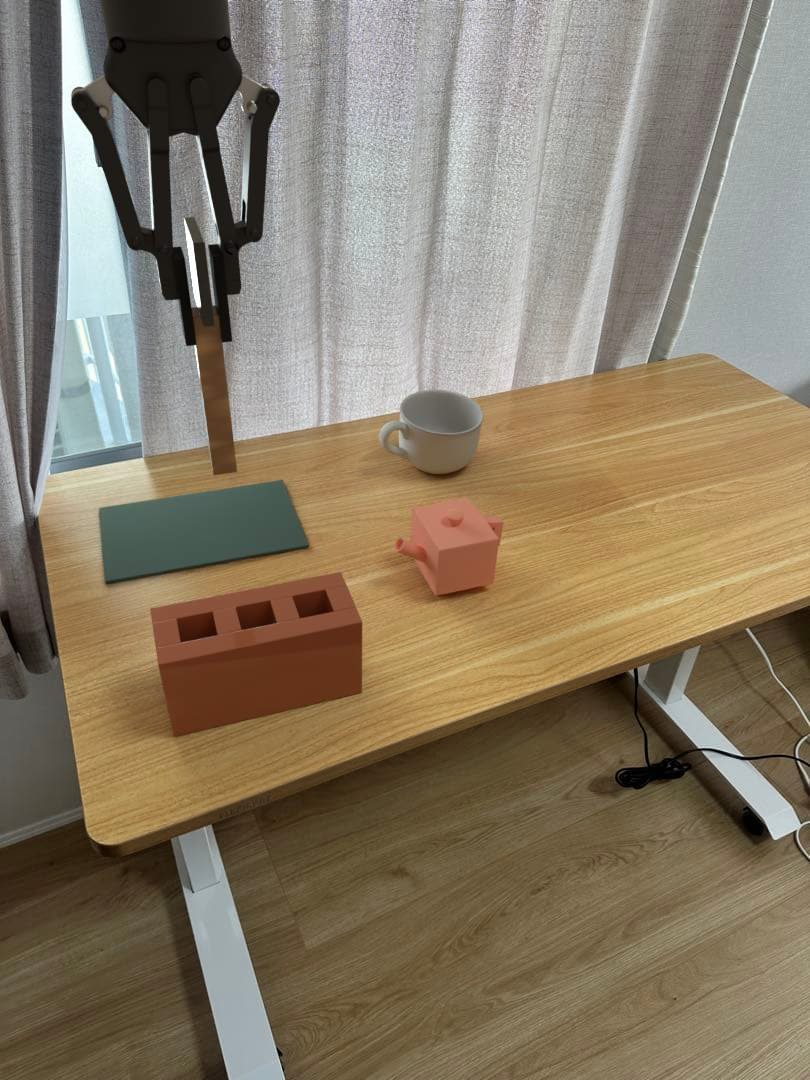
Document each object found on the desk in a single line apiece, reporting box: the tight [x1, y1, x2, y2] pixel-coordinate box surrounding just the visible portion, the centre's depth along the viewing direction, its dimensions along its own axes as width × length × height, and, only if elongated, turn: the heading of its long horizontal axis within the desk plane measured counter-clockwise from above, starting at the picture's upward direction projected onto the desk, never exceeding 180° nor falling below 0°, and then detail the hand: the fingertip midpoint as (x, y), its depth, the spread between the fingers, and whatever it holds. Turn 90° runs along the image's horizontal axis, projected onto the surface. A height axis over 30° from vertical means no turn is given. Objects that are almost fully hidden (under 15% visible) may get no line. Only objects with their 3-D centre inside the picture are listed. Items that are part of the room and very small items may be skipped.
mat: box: [98, 479, 310, 585], centre depth 93 cm, size 22×14×1 cm, turn 109°
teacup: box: [378, 389, 485, 475], centre depth 104 cm, size 14×11×8 cm
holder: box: [149, 571, 363, 737], centre depth 72 cm, size 7×17×9 cm, turn 109°
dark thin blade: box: [183, 216, 238, 476], centre depth 63 cm, size 2×6×20 cm, turn 18°
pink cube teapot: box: [393, 497, 505, 597], centre depth 86 cm, size 8×12×8 cm, turn 110°
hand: (207, 336), depth 62 cm, fingers closed on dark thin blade, 2 cm apart
